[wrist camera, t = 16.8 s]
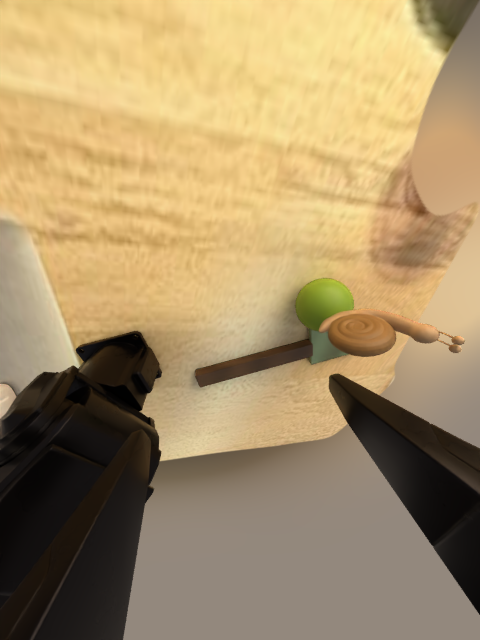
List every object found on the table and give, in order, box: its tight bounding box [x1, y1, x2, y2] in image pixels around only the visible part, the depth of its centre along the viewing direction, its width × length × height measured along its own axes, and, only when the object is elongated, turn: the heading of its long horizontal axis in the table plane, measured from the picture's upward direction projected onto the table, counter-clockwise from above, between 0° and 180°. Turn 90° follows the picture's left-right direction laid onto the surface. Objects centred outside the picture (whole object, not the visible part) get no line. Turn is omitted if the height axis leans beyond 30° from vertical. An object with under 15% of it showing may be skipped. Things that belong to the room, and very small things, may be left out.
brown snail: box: [295, 278, 465, 357], centre depth 17 cm, size 5×6×12 cm
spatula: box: [195, 329, 348, 387], centre depth 24 cm, size 22×6×1 cm, turn 102°
